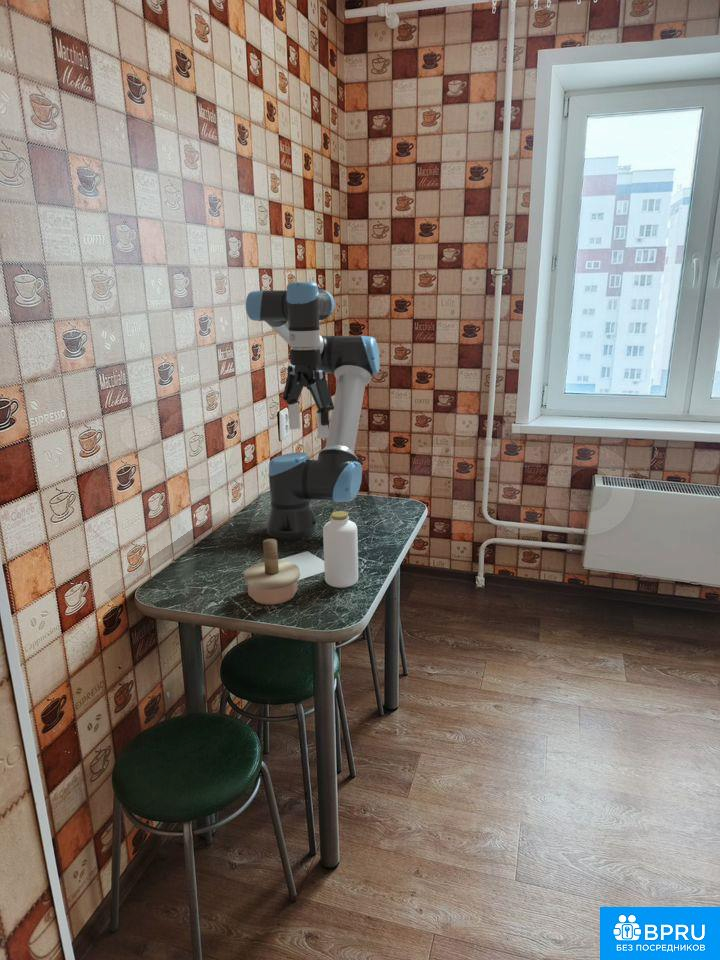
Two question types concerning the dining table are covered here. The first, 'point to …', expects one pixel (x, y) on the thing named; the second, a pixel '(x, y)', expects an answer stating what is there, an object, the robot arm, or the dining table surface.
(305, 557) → the mat
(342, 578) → the white bottle
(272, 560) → the lid
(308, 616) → the dining table surface
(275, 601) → the bowl
